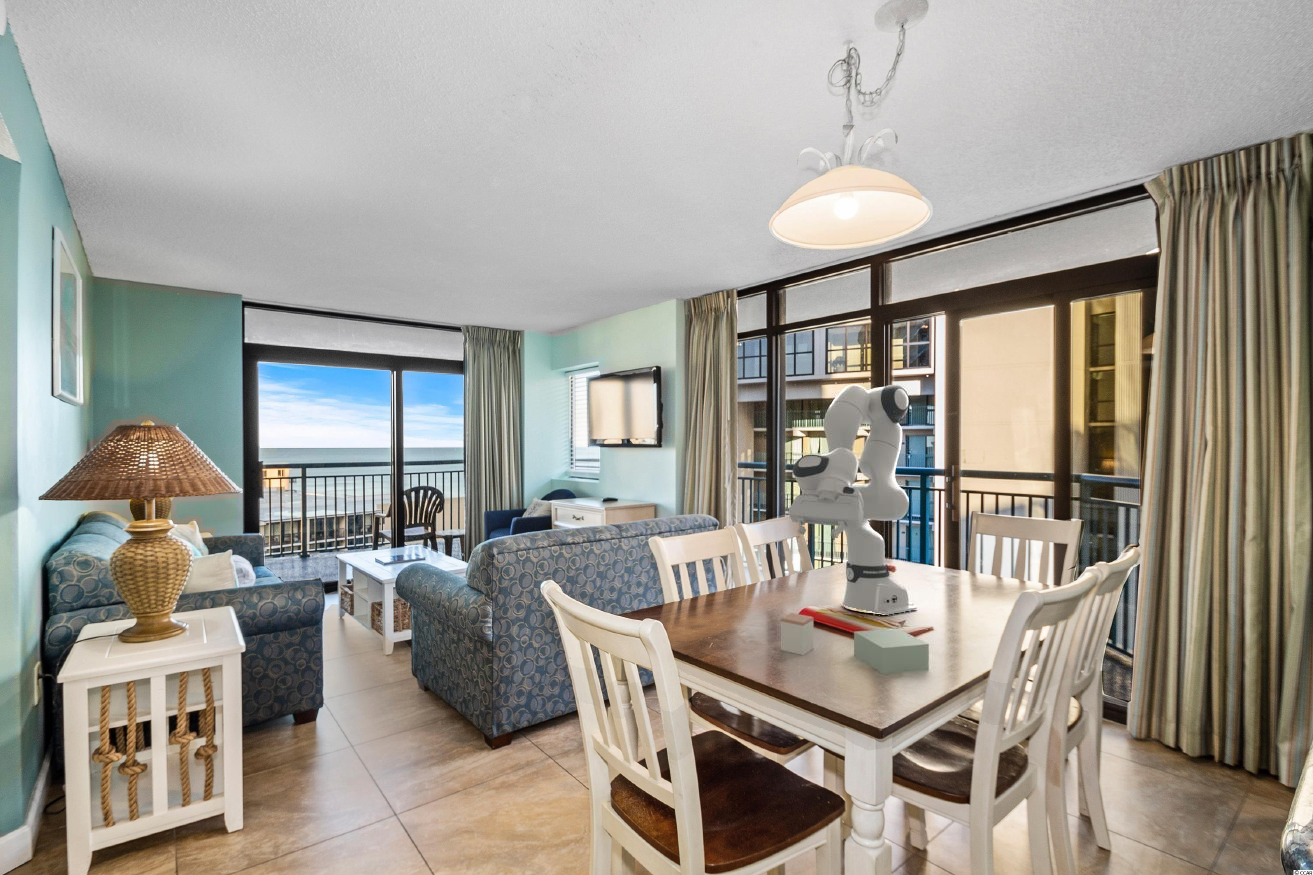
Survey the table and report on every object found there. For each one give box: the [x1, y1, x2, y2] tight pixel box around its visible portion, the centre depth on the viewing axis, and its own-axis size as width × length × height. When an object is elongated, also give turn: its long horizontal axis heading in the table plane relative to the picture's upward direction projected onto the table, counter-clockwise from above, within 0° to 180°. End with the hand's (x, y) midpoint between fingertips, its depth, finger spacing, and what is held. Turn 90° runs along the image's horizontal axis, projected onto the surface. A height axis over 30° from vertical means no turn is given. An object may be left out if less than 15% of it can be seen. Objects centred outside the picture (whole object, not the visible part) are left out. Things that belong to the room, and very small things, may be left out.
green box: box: [853, 628, 930, 675], centre depth 148 cm, size 12×12×6 cm
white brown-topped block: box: [780, 612, 814, 656], centre depth 156 cm, size 6×6×8 cm
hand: (817, 534), depth 166 cm, fingers open, 8 cm apart
